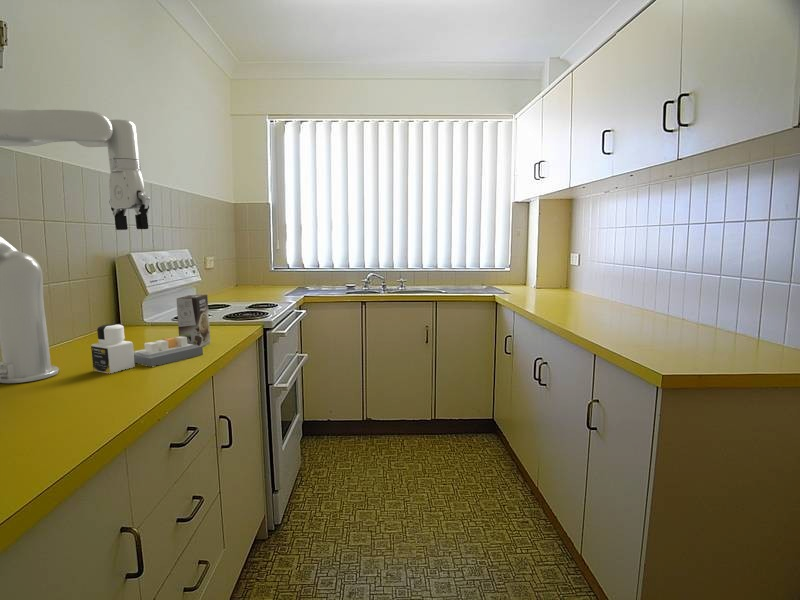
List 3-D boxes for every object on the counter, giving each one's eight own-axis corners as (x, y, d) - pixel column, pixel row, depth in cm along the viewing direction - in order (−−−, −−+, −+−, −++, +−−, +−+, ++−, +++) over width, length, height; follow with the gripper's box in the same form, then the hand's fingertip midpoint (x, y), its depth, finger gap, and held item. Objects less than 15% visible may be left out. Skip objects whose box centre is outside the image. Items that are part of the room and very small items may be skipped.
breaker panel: (151, 367, 132) (149, 347, 132) (126, 361, 139) (125, 342, 138) (202, 354, 146) (201, 336, 145) (178, 349, 152) (177, 332, 151)
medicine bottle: (92, 371, 130) (88, 326, 128) (119, 364, 136) (115, 321, 134) (109, 374, 126) (105, 328, 125) (135, 367, 132) (131, 323, 131)
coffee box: (199, 349, 152) (196, 297, 150) (179, 349, 153) (175, 298, 150) (211, 342, 161) (208, 294, 159) (192, 343, 162) (188, 294, 159)
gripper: (94, 168, 137) (101, 230, 140) (130, 163, 129) (137, 229, 131) (120, 170, 144) (126, 229, 146) (157, 165, 135) (163, 228, 138)
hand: (132, 229), depth 139 cm, fingers open, 9 cm apart
